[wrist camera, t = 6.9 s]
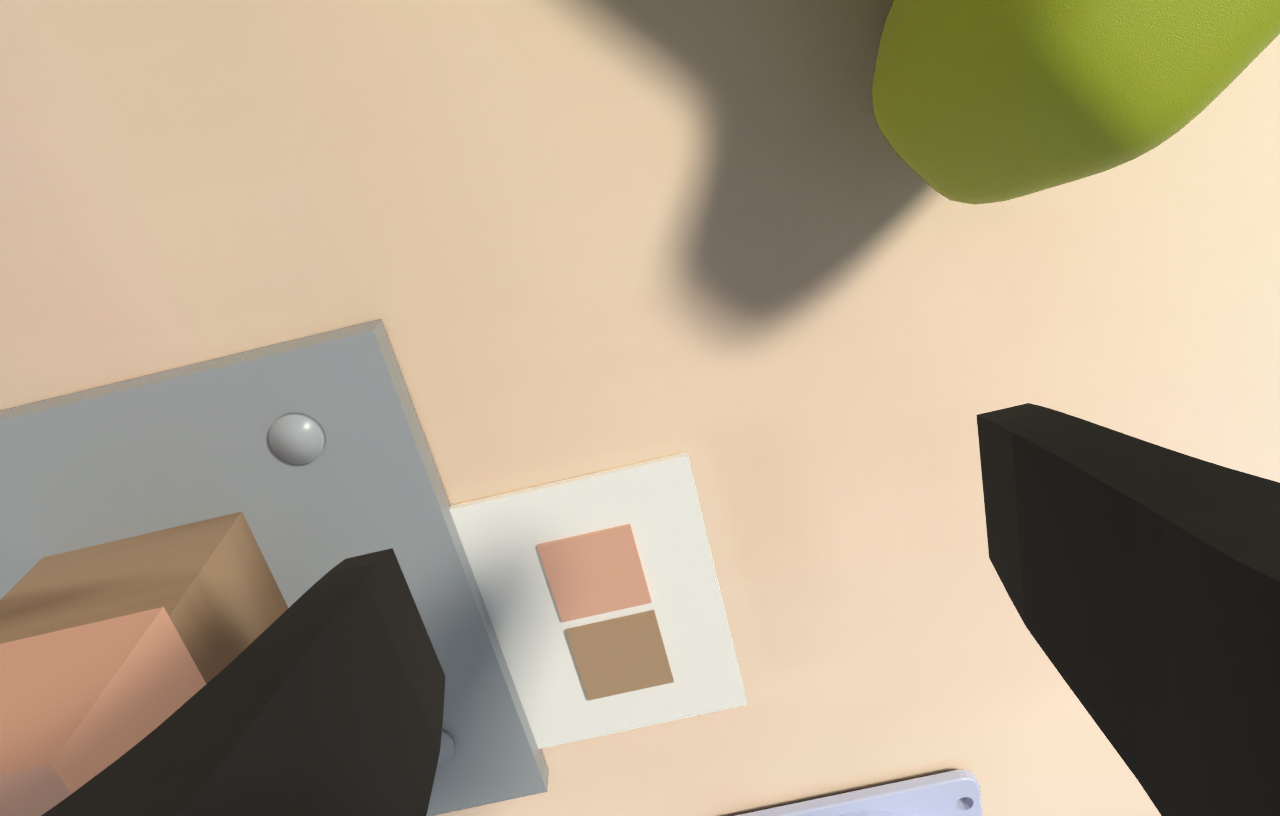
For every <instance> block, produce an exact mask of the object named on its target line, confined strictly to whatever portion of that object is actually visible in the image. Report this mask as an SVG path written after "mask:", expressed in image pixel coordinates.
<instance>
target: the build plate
mask: <svg viewBox="0 0 1280 816" xmlns="http://www.w3.org/2000/svg"><path fill="white" fill-rule="evenodd" d="M450 507H451V505H450V503H449V500H448V497H447V495H446V492H445V489H444V486H443V484H442V481H441V478H440V476H439V473H438V470H437V468H436V465H435V462H434V459H433V457H432V454H431V451H430V449H429V446H428V443H427V441H426V438H425V435H424V433H423V430H422V427H421V424H420V422H419V419H418V416H417V414H416V411H415V408H414V406H413V403H412V400H411V397H410V395H409V392H408V389H407V387H406V384H405V381H404V379H403V376H402V373H401V370H400V368H399V365H398V362H397V360H396V357H395V354H394V352H393V349H392V346H391V344H390V341H389V338H388V335H387V333H386V330H385V327H384V325H383V322H382V319H378V320H374V321H370V322H366V323H362V324H358V325H354V326H349V327H345V328H341V329H337V330H333V331H329V332H325V333H320V334H316V335H312V336H308V337H304V338H300V339H296V340H291V341H287V342H283V343H279V344H275V345H271V346H267V347H262V348H258V349H254V350H250V351H246V352H242V353H238V354H233V355H229V356H225V357H221V358H217V359H213V360H209V361H204V362H200V363H196V364H192V365H188V366H184V367H180V368H175V369H171V370H167V371H163V372H159V373H155V374H151V375H146V376H142V377H138V378H134V379H130V380H126V381H122V382H117V383H113V384H109V385H105V386H101V387H97V388H93V389H88V390H84V391H80V392H76V393H72V394H68V395H64V396H59V397H55V398H51V399H47V400H43V401H39V402H35V403H31V404H26V405H22V406H18V407H14V408H10V409H6V410H2V411H0V600H1V599H2V598H3V597H4V596H5V595H6V594H7V593H8V592H9V591H10V590H11V589H12V588H13V587H14V586H15V585H16V584H17V583H18V582H19V581H20V580H21V579H22V578H23V577H24V576H25V575H26V574H27V573H28V572H29V571H30V570H31V569H32V568H33V567H34V566H35V565H36V564H37V563H38V562H39V561H40V560H41V559H42V558H43V557H47V556H52V555H56V554H60V553H65V552H69V551H73V550H78V549H82V548H86V547H91V546H95V545H99V544H104V543H108V542H112V541H117V540H121V539H125V538H129V537H134V536H138V535H142V534H147V533H151V532H155V531H160V530H164V529H168V528H173V527H177V526H181V525H186V524H190V523H194V522H199V521H203V520H207V519H212V518H216V517H220V516H224V515H229V514H233V513H237V512H242V513H243V515H244V517H245V519H246V521H247V523H248V525H249V527H250V529H251V531H252V533H253V536H254V538H255V540H256V542H257V544H258V546H259V548H260V550H261V552H262V554H263V556H264V558H265V560H266V562H267V565H268V567H269V569H270V571H271V573H272V575H273V577H274V579H275V581H276V583H277V585H278V587H279V589H280V591H281V594H282V596H283V598H284V600H285V602H286V604H287V606H288V608H289V607H290V606H291V605H292V604H293V603H294V602H296V601H297V600H298V599H299V598H300V597H301V596H302V595H303V594H304V593H305V592H306V591H307V590H308V589H310V588H311V587H312V586H313V585H314V584H315V583H316V582H317V581H318V580H320V579H321V578H322V577H323V576H324V575H325V574H326V573H328V572H329V571H330V570H331V569H332V568H334V567H335V566H336V565H338V564H339V563H340V562H342V561H343V560H344V559H347V558H351V557H356V556H360V555H364V554H369V553H373V552H378V551H382V550H386V549H391V548H393V550H394V553H395V555H396V558H397V560H398V563H399V565H400V567H401V570H402V572H403V575H404V577H405V580H406V582H407V584H408V587H409V589H410V592H411V594H412V597H413V599H414V601H415V604H416V606H417V609H418V611H419V614H420V616H421V618H422V621H423V623H424V626H425V628H426V631H427V633H428V635H429V638H430V640H431V643H432V645H433V648H434V650H435V652H436V655H437V657H438V660H439V662H440V665H441V667H442V669H443V672H444V674H445V677H446V678H445V694H444V711H443V724H442V735H441V746H440V754H439V759H438V764H437V769H436V774H435V778H434V783H433V788H432V792H431V797H430V802H429V806H428V811H427V815H426V816H433V815H438V814H443V813H447V812H452V811H457V810H462V809H466V808H471V807H476V806H481V805H486V804H490V803H495V802H500V801H505V800H509V799H514V798H519V797H524V796H528V795H533V794H538V793H543V792H547V786H548V770H549V769H548V767H547V764H546V761H545V759H544V756H543V753H542V751H541V749H538V746H537V744H536V741H535V738H534V735H533V733H532V730H531V727H530V725H529V722H528V719H527V717H526V714H525V711H524V709H523V706H522V703H521V701H520V698H519V695H518V693H517V690H516V687H515V684H514V682H513V679H512V676H511V674H510V671H509V668H508V666H507V663H506V660H505V658H504V655H503V652H502V650H501V647H500V644H499V641H498V639H497V636H496V633H495V631H494V628H493V625H492V623H491V620H490V617H489V615H488V612H487V609H486V607H485V604H484V601H483V599H482V596H481V593H480V590H479V588H478V585H477V582H476V580H475V577H474V574H473V572H472V569H471V566H470V564H469V561H468V558H467V556H466V553H465V550H464V548H463V545H462V542H461V539H460V537H459V534H458V531H457V529H456V526H455V523H454V521H453V518H452V515H451V513H450Z"/></svg>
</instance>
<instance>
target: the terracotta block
mask: <svg viewBox="0 0 1280 816" xmlns="http://www.w3.org/2000/svg"><path fill="white" fill-rule="evenodd" d="M205 685H206V682H205V681H204V679H203V677H202V675H201V673H200V672H199V670H198V668H197V666H196V664H195V662H194V661H193V659H192V657H191V655H190V653H189V652H188V650H187V648H186V646H185V644H184V643H183V641H182V639H181V637H180V635H179V634H178V632H177V630H176V628H175V626H174V624H173V623H172V621H171V619H170V617H169V615H168V614H167V612H166V610H165V608H164V607H161V608H156V609H152V610H147V611H143V612H138V613H134V614H130V615H125V616H121V617H116V618H112V619H108V620H103V621H99V622H94V623H90V624H86V625H81V626H77V627H72V628H68V629H64V630H59V631H55V632H50V633H46V634H42V635H37V636H33V637H28V638H24V639H20V640H15V641H11V642H6V643H2V644H0V816H41V815H43V814H44V813H46V812H47V811H49V810H50V809H51V808H53V807H54V806H56V805H57V804H58V803H60V802H61V801H63V800H64V799H65V798H67V797H68V796H70V795H71V794H72V793H74V792H75V791H76V790H78V789H79V788H80V787H81V786H83V785H84V784H85V783H87V782H88V781H89V780H91V779H92V778H93V777H95V776H96V775H97V774H99V773H100V772H101V771H103V770H104V769H105V768H107V767H108V766H109V765H111V764H112V763H113V762H115V761H116V760H117V759H119V758H120V757H121V756H122V755H124V754H125V753H126V752H127V751H129V750H130V749H131V748H132V747H134V746H135V745H136V744H137V743H139V742H140V741H141V740H142V739H144V738H145V737H146V736H147V735H148V734H150V733H151V732H152V731H153V730H155V729H156V728H157V727H158V726H159V725H160V724H162V723H163V722H164V721H165V720H166V719H167V718H168V717H170V716H171V715H172V714H173V713H174V712H175V711H176V710H178V709H179V708H180V707H181V706H182V705H183V704H184V703H186V702H187V701H188V700H189V699H190V698H191V697H192V696H193V695H195V694H196V693H197V692H198V691H199V690H200V689H201V688H203V687H204V686H205Z"/></svg>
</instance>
